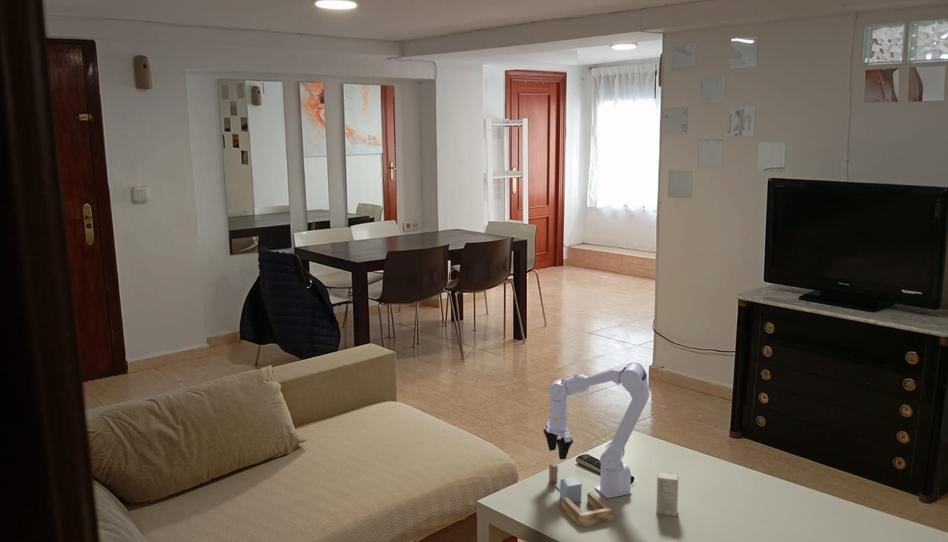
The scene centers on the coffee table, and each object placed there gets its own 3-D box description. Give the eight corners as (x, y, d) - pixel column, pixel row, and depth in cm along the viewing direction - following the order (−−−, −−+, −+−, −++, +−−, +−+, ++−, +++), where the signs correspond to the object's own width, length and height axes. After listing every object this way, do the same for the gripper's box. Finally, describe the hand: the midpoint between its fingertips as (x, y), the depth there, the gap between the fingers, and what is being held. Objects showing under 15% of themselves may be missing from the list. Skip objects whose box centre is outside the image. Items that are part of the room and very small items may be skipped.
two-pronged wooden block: (591, 501, 244) (591, 491, 244) (612, 520, 233) (612, 509, 232) (561, 507, 241) (561, 497, 240) (580, 526, 229) (581, 515, 228)
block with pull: (557, 479, 260) (558, 463, 259) (581, 501, 245) (581, 483, 244) (544, 481, 258) (544, 465, 257) (567, 504, 243) (567, 486, 242)
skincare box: (677, 510, 239) (679, 474, 237) (676, 517, 235) (678, 480, 233) (656, 507, 241) (658, 471, 239) (655, 513, 237) (657, 477, 235)
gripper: (537, 410, 259) (537, 447, 262) (557, 425, 246) (556, 464, 248) (556, 407, 262) (555, 444, 264) (577, 422, 248) (576, 461, 251)
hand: (557, 454), depth 256 cm, fingers open, 7 cm apart
